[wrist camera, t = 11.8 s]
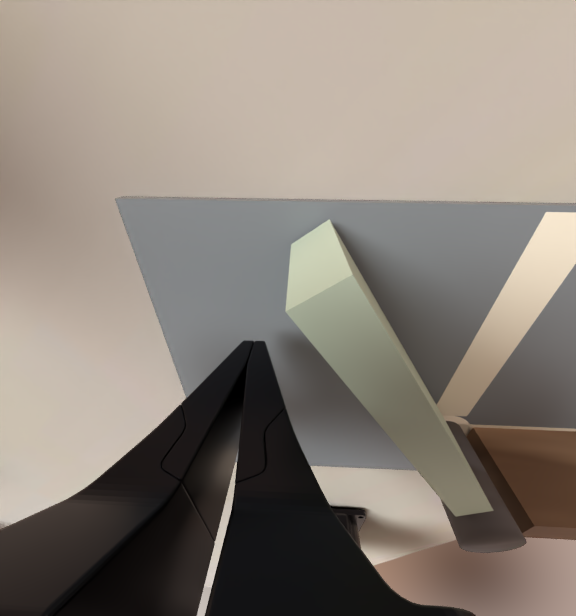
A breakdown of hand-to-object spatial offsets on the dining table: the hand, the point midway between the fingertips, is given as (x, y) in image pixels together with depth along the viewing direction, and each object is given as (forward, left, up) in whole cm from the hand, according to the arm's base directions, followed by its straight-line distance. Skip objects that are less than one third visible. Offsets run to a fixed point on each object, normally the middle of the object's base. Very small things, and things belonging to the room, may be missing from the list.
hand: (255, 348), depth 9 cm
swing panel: (-1, -6, -1) cm, 6 cm away
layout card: (-4, -10, -2) cm, 11 cm away
